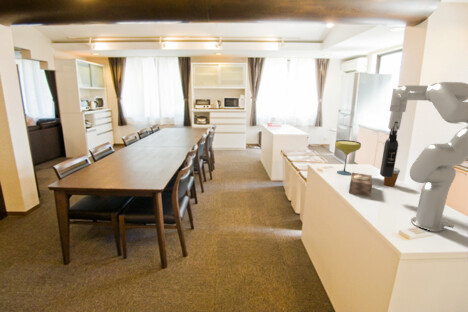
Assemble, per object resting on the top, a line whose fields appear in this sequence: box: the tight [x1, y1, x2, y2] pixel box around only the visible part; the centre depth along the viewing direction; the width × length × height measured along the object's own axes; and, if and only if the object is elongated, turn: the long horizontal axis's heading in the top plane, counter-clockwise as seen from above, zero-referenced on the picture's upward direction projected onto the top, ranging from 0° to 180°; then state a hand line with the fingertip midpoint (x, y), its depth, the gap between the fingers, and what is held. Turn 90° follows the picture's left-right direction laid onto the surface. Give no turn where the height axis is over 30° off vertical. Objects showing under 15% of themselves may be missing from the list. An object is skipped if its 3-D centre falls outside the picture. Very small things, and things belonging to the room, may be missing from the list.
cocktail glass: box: [334, 139, 362, 176], centre depth 194 cm, size 18×18×25 cm
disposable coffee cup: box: [383, 167, 401, 188], centre depth 171 cm, size 10×10×12 cm
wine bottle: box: [379, 128, 399, 178], centre depth 145 cm, size 6×6×30 cm
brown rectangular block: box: [348, 172, 373, 198], centre depth 163 cm, size 12×20×8 cm, turn 152°
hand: (392, 140), depth 143 cm, fingers closed on wine bottle, 5 cm apart
